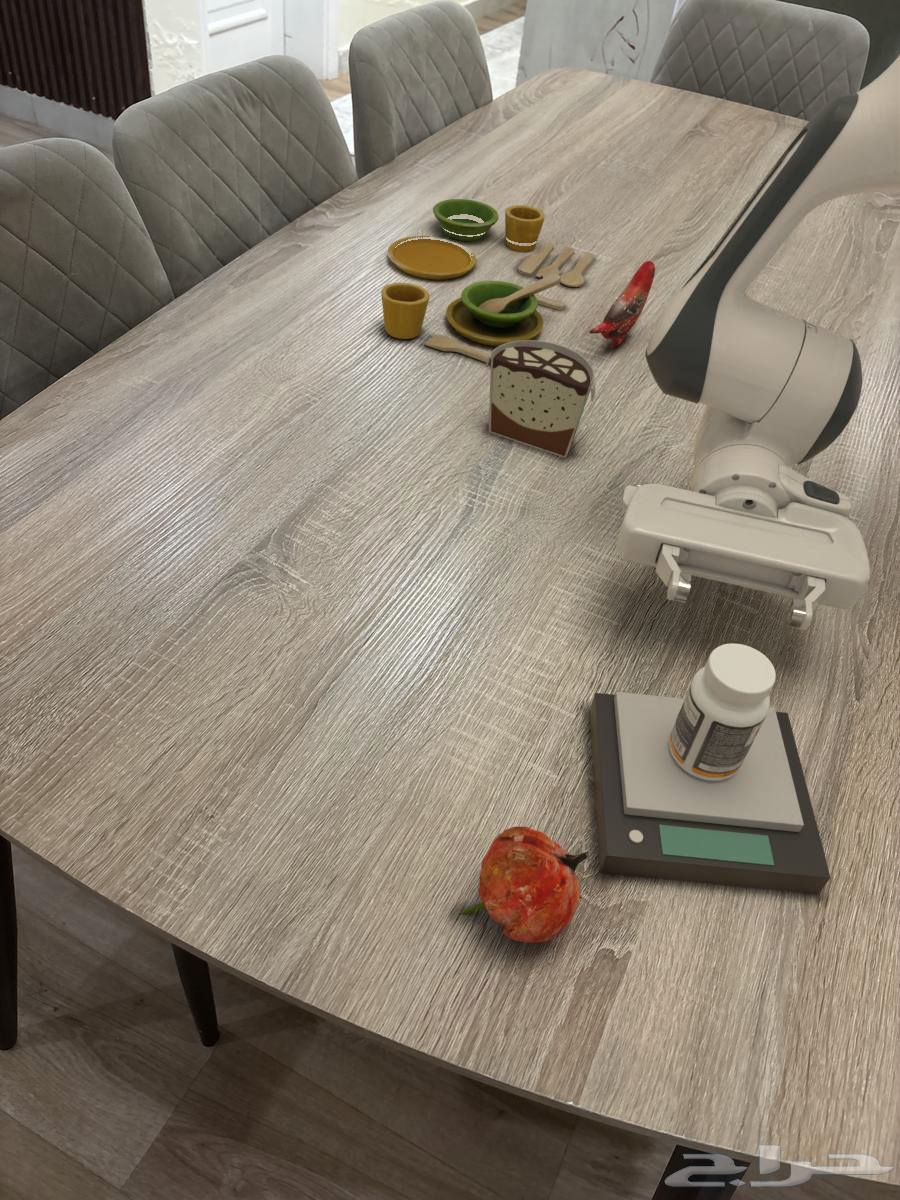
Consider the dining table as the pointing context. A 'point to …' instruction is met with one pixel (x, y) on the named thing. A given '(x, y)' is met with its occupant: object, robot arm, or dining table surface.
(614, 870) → the kitchen scale
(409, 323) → the tableware set
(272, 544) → the dining table surface
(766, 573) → the robot arm
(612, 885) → the dining table surface
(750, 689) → the pill bottle
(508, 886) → the pomegranate
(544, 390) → the cake slice cutout
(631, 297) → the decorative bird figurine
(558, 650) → the dining table surface
